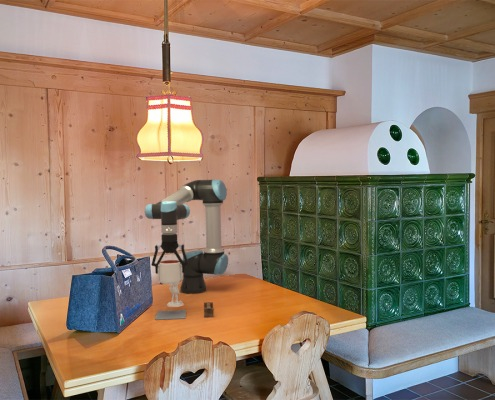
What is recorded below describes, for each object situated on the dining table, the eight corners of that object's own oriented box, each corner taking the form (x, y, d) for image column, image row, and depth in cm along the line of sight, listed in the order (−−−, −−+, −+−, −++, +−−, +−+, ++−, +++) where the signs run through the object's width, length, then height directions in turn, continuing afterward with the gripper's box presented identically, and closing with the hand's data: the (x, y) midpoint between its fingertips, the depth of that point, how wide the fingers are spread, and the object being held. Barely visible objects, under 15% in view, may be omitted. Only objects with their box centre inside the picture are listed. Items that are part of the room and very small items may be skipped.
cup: (155, 282, 229) (155, 262, 228) (172, 279, 236) (171, 259, 236) (168, 285, 222) (168, 264, 222) (185, 282, 229) (184, 261, 229)
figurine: (169, 307, 244) (168, 278, 243) (164, 303, 252) (164, 275, 251) (185, 305, 247) (185, 276, 246) (181, 301, 255) (180, 273, 255)
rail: (204, 310, 237) (203, 302, 237) (212, 310, 238) (212, 302, 238) (204, 317, 225) (204, 309, 225) (213, 317, 226) (213, 308, 226)
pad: (157, 311, 236) (157, 311, 236) (186, 310, 238) (186, 309, 238) (155, 320, 222) (154, 319, 222) (185, 318, 224) (185, 318, 224)
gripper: (144, 235, 223) (145, 282, 224) (193, 233, 226) (194, 280, 227) (146, 233, 231) (147, 279, 232) (193, 232, 233) (194, 277, 234)
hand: (170, 279), depth 229 cm, fingers closed on cup, 10 cm apart
